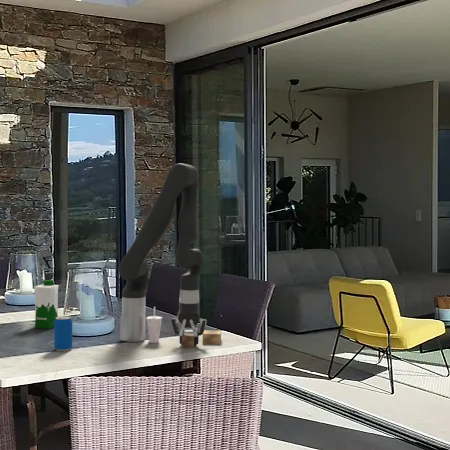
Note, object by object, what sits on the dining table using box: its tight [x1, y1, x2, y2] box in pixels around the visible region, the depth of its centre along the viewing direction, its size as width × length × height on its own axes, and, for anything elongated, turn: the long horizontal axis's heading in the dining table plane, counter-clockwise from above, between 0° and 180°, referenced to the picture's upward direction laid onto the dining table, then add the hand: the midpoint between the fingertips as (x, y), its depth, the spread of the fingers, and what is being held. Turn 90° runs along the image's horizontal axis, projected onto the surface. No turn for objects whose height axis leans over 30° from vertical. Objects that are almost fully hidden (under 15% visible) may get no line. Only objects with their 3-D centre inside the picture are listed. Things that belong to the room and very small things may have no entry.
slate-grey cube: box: [184, 329, 194, 334], centre depth 266 cm, size 4×4×4 cm
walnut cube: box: [181, 332, 196, 349], centre depth 256 cm, size 4×4×4 cm
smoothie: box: [145, 306, 163, 344], centre depth 262 cm, size 6×6×14 cm
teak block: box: [202, 329, 222, 345], centre depth 264 cm, size 7×7×4 cm
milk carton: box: [33, 279, 59, 330], centre depth 288 cm, size 9×9×20 cm
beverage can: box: [53, 315, 73, 352], centre depth 248 cm, size 6×6×12 cm
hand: (188, 345), depth 256 cm, fingers closed on walnut cube, 4 cm apart
